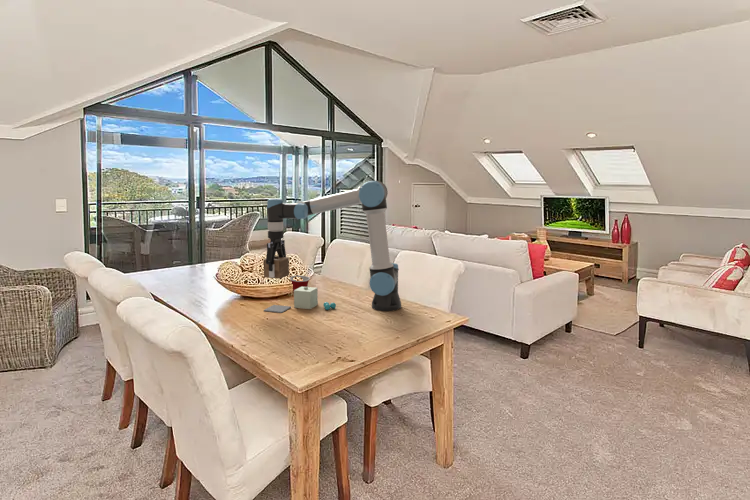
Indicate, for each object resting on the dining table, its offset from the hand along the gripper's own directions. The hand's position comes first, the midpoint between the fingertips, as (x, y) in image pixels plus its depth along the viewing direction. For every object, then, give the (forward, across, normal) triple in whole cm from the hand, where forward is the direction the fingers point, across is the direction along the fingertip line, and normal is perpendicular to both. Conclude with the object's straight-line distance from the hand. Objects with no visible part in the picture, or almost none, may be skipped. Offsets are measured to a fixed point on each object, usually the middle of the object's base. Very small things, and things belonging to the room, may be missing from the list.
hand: (276, 275), depth 236 cm
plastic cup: (+18, -22, +2) cm, 28 cm away
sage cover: (+17, -10, +11) cm, 23 cm away
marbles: (+17, -9, +18) cm, 27 cm away
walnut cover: (0, 0, 0) cm, 0 cm away
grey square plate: (+17, 0, 0) cm, 17 cm away
